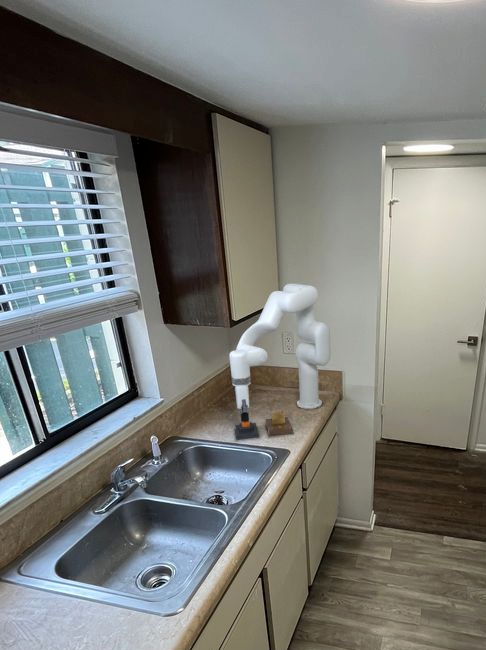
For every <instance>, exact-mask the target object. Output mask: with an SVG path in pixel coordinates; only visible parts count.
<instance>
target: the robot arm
mask: <svg viewBox="0 0 486 650" xmlns="http://www.w3.org/2000/svg"><path fill="white" fill-rule="evenodd" d="M318 299H319V292H318V290H317V288H316V287H315V286H313V285H310V284H301V283H287V284H285V285H284V287H283V289H282V290H274V291H272V292H271V293H269V296H268V297H267V300H266V301H265V302H266V303H265V305H264V307H263V309H262V311H261V312H260V315H259V318H258V319H257V321H255V323H253V324H252V325H251V326H250V327H248V328H247V329H246V330H245V331H244V332H243V334H242V335H241V337H240V339H239V341H238V343H237V346H236V349H235V350H232V351H230V352H229V364H230V365H229V366H230V374H231V383H232V384H231V385H232V386H234V391H235V400H236V409H238V410H240V421H241V423H242V422H245V421H250V415H249V408H250V391H249V390H250V389H249V385H251V384H252V380H251V379H252V378H251V367H259V366H263V365H264V364H265V363H266V362H267V361H268V358H269V357H268V352H267V350H265V349H264V348H262V347H259V346H255V345H254V344H255V343H256V342H257V341H258V340H259V339H260V338H261V337H263V336H265V335H269V334H271V333H274V332H276V331H277V330H278V328H279V325H280V323H281V321H282V318H283V317H284V315H285V313H288V314H295V316H296V330H297V331H296V333H297V336H298V338H299V339H300V340H302V341H304V342H300V343H298V344H297V346H296V348H295V358H296V362H297V367H298V389H299V391H298V392H299V399H298V400H297V401H296V406H297V407H298V408H300V409H305V410H313V409H317V408H320V407H321V406H322V405H323V401H322V400H321V399H320V396H319V392H320V391H319V389H320V388H319V369H318V366H320V367H325V366H326V365H327V364H328V363H329V362H330V360H331V331H330V328H329V326H328V325H327V324H326V323H325V322H321V321H317V320H316V313H315V308H314V305H316V304H317V303H316V302H317V301H318Z"/></svg>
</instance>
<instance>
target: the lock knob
mask: <svg viewBox="0 0 486 650" xmlns="http://www.w3.org/2000/svg"><path fill="white" fill-rule="evenodd" d="M270 415H271V419H272V425H275V424H283V423H285V417H286V416H285V411H283V410H282V411H275V412H271V414H270Z"/></svg>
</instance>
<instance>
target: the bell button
mask: <svg viewBox="0 0 486 650" xmlns="http://www.w3.org/2000/svg"><path fill="white" fill-rule="evenodd" d="M250 422H251V421H250V420H249V421H245V422H242V421H241V423H242V427H249V426H250Z"/></svg>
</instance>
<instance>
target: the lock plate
mask: <svg viewBox="0 0 486 650" xmlns="http://www.w3.org/2000/svg"><path fill="white" fill-rule="evenodd" d="M265 426H266V430H267V434H268V437H269V438H270V437H279V436H286V435H293V427H292V424H291V422H290V419H289V417H288V416H285V423H283V424H275V425H272V418H266V419H265Z"/></svg>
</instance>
